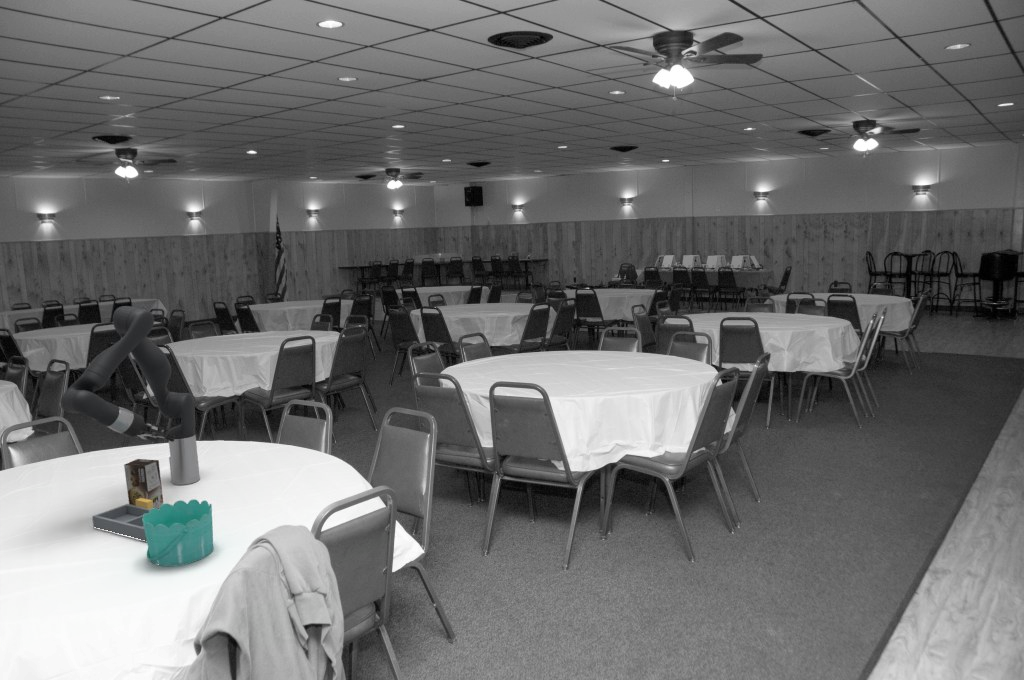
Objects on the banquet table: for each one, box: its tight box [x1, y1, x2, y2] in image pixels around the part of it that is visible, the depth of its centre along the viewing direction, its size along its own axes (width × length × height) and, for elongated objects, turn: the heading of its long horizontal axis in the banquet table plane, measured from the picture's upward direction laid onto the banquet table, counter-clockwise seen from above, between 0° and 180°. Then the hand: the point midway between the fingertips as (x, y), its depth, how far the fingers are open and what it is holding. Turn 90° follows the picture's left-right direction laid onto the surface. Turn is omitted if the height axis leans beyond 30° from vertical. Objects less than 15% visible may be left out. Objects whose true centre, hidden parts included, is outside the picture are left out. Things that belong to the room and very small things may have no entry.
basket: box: [142, 498, 214, 567], centre depth 223 cm, size 19×18×13 cm
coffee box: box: [123, 458, 164, 510], centre depth 261 cm, size 9×6×16 cm
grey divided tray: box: [91, 498, 173, 541], centre depth 244 cm, size 30×14×6 cm, turn 60°
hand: (166, 439), depth 264 cm, fingers open, 8 cm apart
